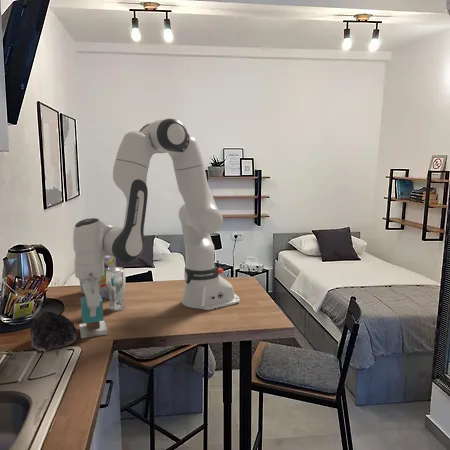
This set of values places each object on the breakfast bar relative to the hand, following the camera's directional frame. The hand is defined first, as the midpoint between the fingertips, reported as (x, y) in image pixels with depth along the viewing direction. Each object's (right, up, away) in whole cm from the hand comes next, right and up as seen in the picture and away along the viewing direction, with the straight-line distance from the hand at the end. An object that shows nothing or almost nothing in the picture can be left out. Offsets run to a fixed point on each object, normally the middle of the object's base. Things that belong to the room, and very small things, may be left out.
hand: (91, 311), depth 132 cm
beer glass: (+3, -3, +21) cm, 22 cm away
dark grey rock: (-9, -8, -6) cm, 14 cm away
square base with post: (0, -7, +1) cm, 7 cm away
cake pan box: (-9, -1, +36) cm, 37 cm away
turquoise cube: (0, -2, 0) cm, 2 cm away
